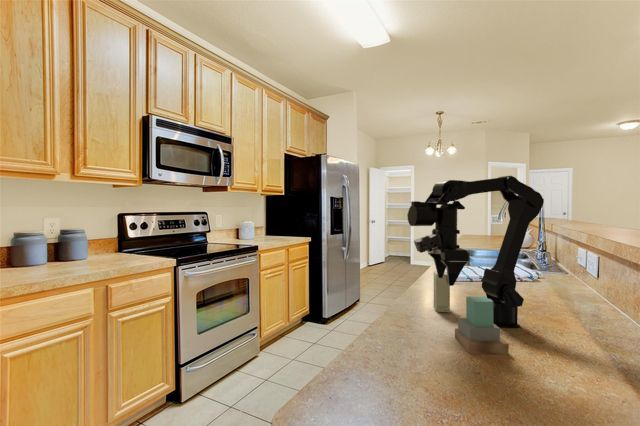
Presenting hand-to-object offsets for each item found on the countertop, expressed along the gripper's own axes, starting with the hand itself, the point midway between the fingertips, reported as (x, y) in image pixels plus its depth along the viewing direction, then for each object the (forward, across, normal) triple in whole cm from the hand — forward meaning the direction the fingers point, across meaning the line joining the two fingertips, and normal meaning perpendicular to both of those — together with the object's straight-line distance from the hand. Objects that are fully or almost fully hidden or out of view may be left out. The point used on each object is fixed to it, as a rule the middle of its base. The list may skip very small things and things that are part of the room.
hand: (445, 281), depth 92 cm
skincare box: (+13, -16, +4) cm, 21 cm away
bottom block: (+14, +12, +5) cm, 18 cm away
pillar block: (+8, +11, +5) cm, 14 cm away
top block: (+10, +11, +4) cm, 16 cm away
